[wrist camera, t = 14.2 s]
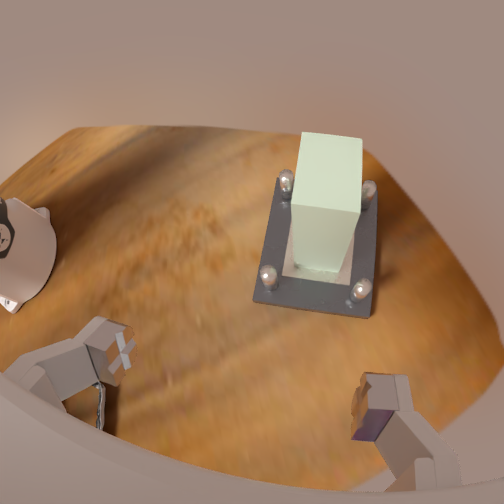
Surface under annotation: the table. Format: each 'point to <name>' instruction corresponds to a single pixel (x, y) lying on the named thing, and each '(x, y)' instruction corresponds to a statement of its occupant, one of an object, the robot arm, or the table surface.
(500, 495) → the robot arm
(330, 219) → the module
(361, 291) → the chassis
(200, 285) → the table surface
